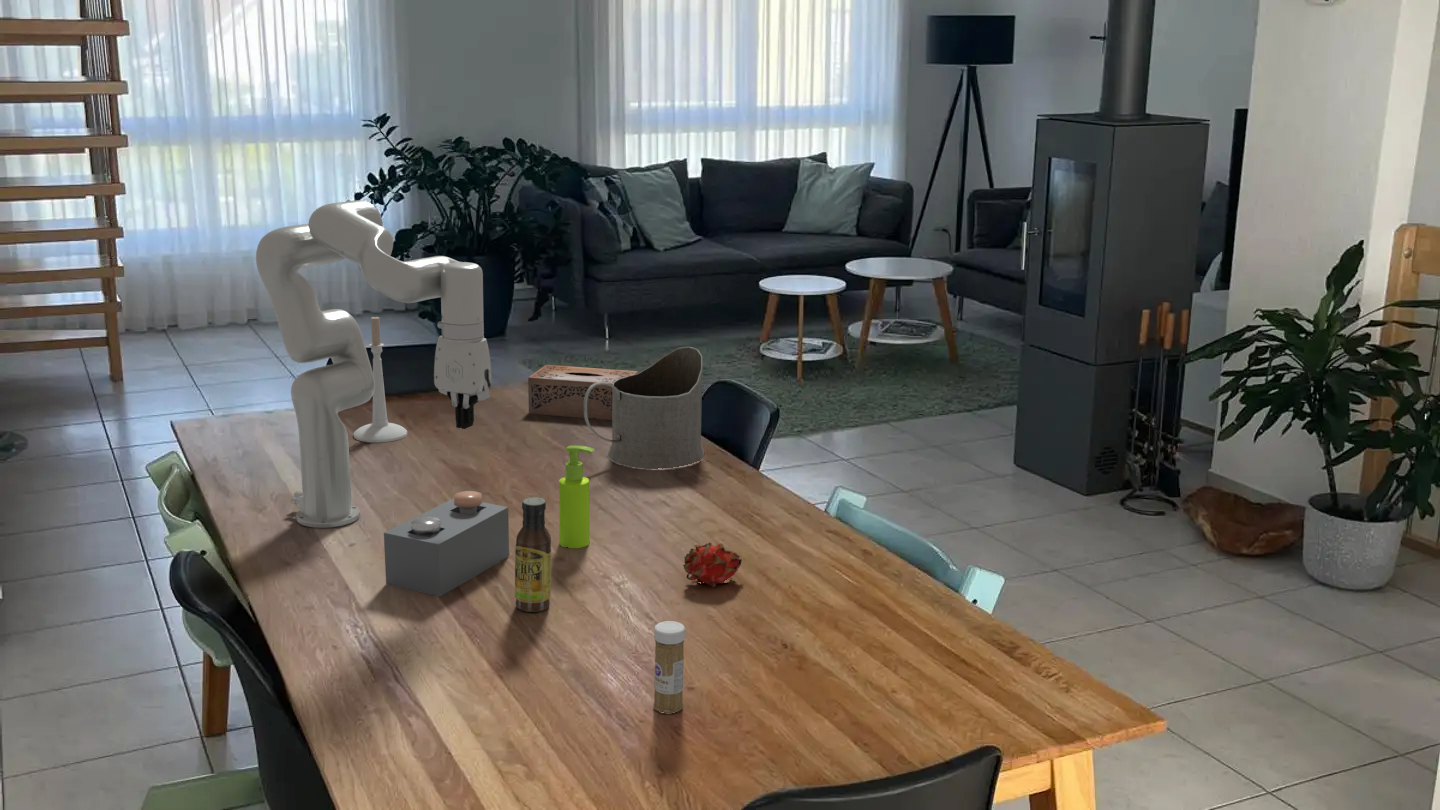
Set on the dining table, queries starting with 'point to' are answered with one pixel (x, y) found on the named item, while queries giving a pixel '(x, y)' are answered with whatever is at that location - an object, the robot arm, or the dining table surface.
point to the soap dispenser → (574, 502)
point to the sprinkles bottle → (669, 666)
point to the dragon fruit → (711, 564)
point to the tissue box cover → (572, 391)
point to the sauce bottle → (533, 558)
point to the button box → (446, 548)
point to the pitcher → (657, 413)
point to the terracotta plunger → (468, 501)
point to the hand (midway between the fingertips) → (464, 426)
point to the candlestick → (379, 400)
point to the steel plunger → (426, 526)
